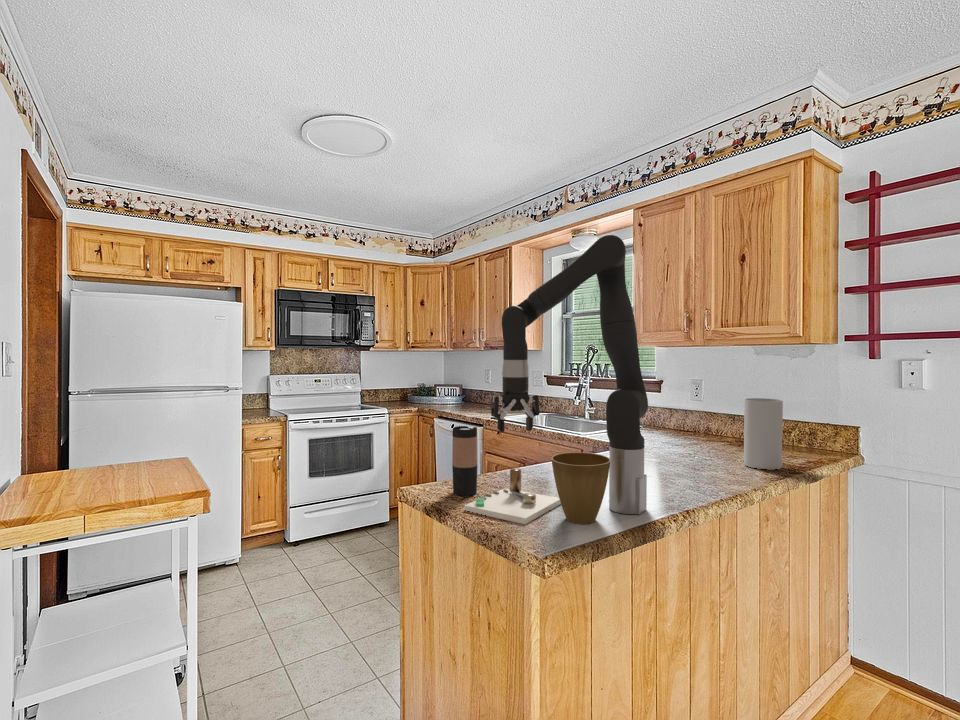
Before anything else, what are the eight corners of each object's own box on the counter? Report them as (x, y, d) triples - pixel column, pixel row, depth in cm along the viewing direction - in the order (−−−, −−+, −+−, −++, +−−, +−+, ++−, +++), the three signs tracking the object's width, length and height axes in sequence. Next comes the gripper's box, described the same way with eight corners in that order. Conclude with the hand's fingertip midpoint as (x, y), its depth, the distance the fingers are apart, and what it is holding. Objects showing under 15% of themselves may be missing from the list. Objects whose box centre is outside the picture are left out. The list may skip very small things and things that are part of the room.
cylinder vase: (736, 464, 196) (736, 399, 195) (759, 461, 200) (760, 397, 200) (765, 472, 184) (766, 402, 184) (789, 468, 189) (790, 400, 188)
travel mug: (455, 497, 153) (455, 430, 152) (450, 490, 160) (449, 426, 160) (480, 495, 155) (480, 429, 154) (473, 489, 162) (473, 425, 162)
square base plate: (561, 503, 147) (561, 495, 147) (525, 524, 129) (525, 515, 129) (503, 492, 158) (503, 485, 158) (462, 510, 140) (462, 502, 140)
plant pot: (546, 511, 140) (546, 452, 139) (600, 510, 141) (600, 451, 140) (558, 530, 125) (558, 465, 125) (618, 529, 126) (618, 463, 126)
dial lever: (538, 503, 140) (538, 477, 140) (526, 504, 139) (526, 478, 139) (516, 490, 153) (516, 466, 153) (505, 491, 152) (505, 467, 152)
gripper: (497, 376, 143) (497, 434, 144) (543, 375, 148) (543, 431, 149) (487, 375, 150) (487, 430, 151) (532, 374, 155) (531, 428, 156)
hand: (515, 431), depth 150 cm, fingers open, 8 cm apart
